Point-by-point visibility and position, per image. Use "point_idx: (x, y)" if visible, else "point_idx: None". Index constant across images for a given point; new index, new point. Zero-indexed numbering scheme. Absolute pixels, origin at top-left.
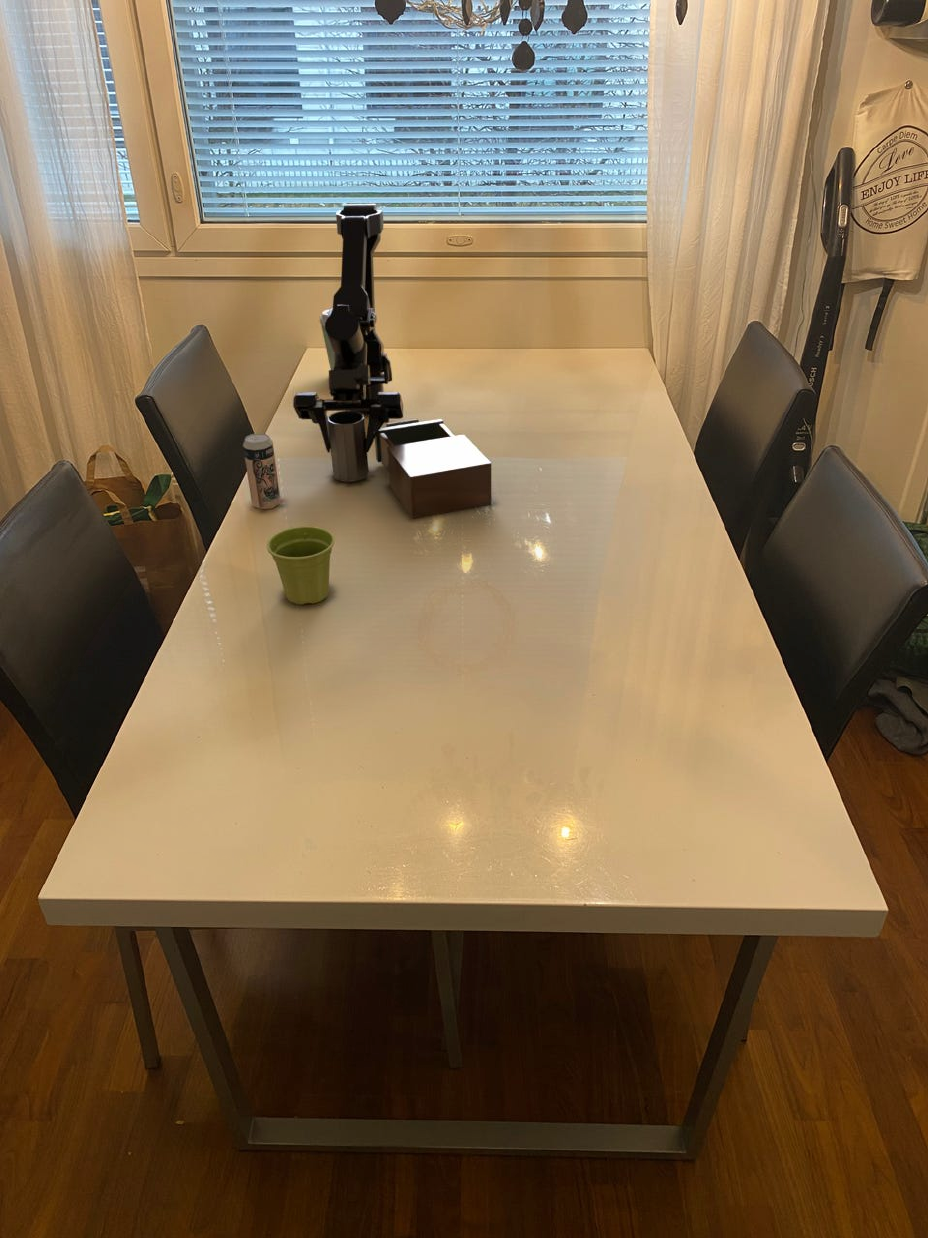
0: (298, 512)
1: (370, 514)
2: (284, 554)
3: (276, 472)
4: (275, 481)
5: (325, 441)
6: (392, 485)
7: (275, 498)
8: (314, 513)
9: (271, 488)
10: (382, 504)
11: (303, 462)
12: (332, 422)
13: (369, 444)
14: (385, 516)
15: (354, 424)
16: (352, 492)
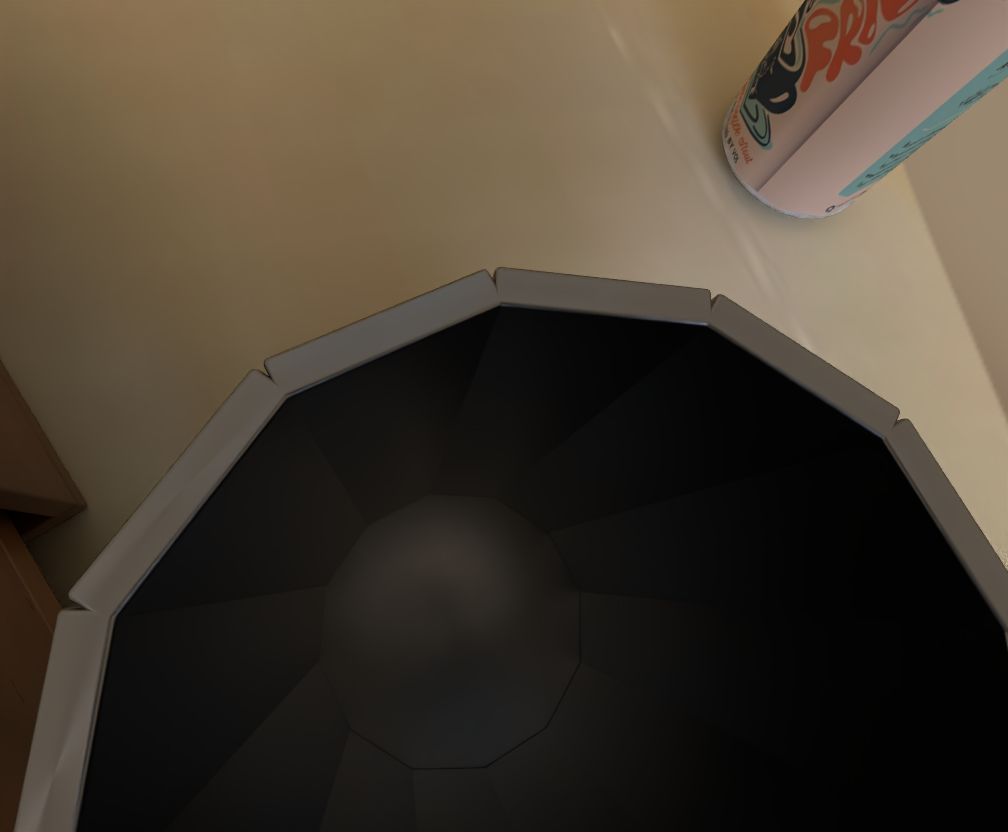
0: (584, 95)
1: (147, 103)
2: None
3: (860, 25)
4: (810, 13)
5: None
6: (12, 418)
7: (748, 91)
8: (494, 91)
9: (798, 15)
10: (91, 234)
11: None
12: (790, 361)
13: None
14: (36, 86)
15: (233, 402)
16: None
